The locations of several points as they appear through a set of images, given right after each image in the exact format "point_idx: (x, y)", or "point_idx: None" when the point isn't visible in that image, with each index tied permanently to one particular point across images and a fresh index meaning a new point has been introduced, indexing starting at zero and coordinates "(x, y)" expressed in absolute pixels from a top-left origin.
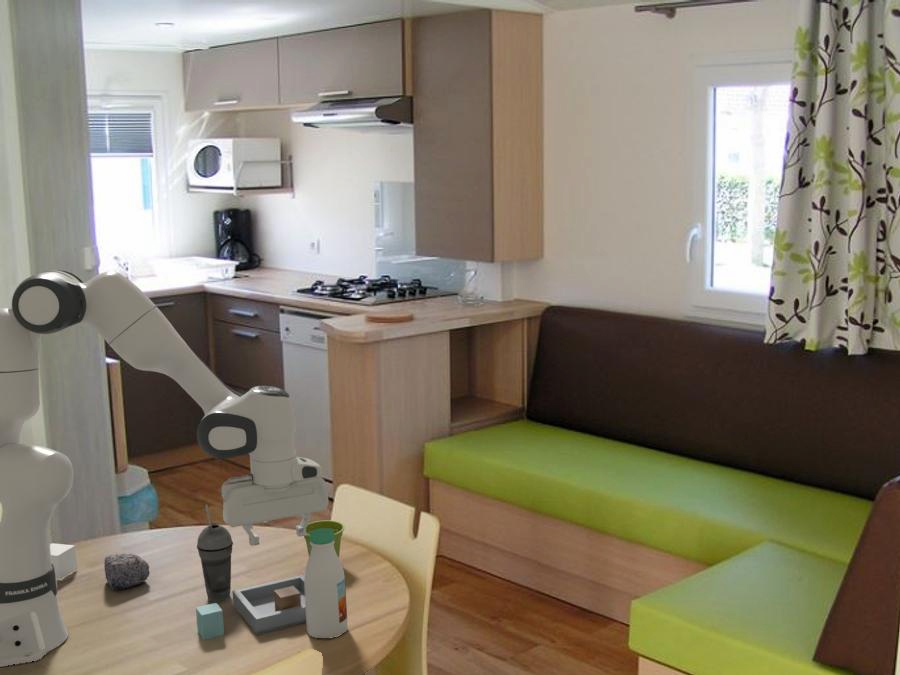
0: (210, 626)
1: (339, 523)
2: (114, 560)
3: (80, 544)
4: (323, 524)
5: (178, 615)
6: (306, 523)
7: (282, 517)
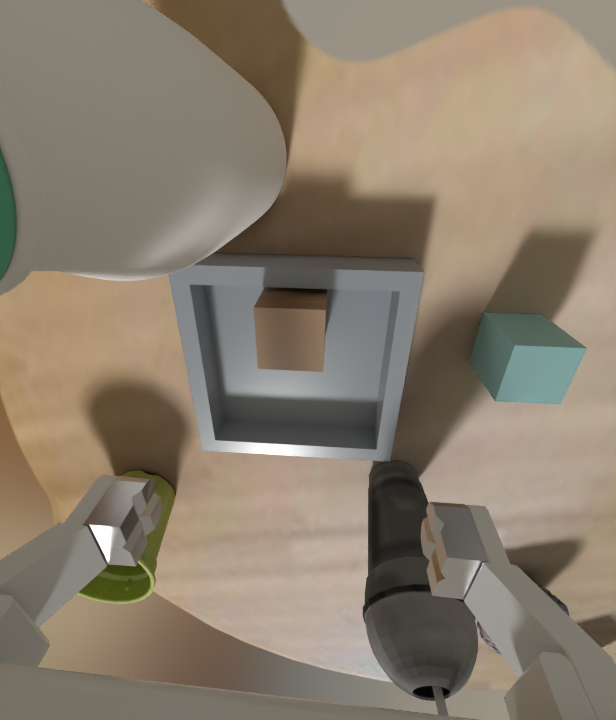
0: (536, 327)
1: None
2: None
3: (475, 688)
4: (98, 588)
5: (506, 453)
6: (36, 550)
7: (209, 701)
